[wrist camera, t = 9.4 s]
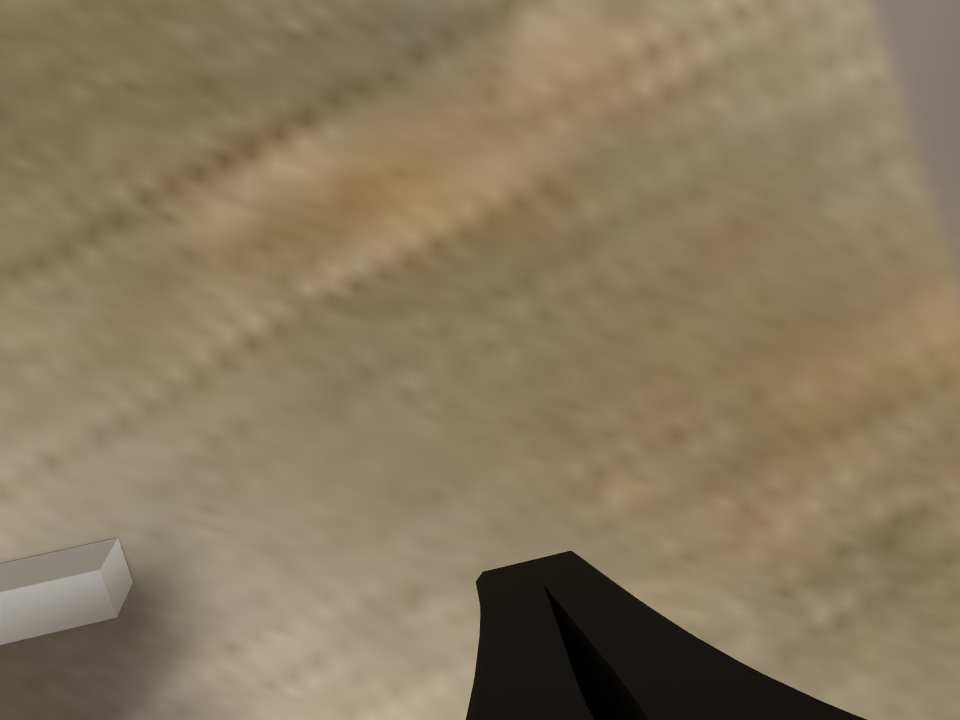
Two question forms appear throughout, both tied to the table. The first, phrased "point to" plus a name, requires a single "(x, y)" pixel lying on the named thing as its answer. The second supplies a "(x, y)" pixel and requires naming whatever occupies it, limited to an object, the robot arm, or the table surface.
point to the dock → (62, 590)
